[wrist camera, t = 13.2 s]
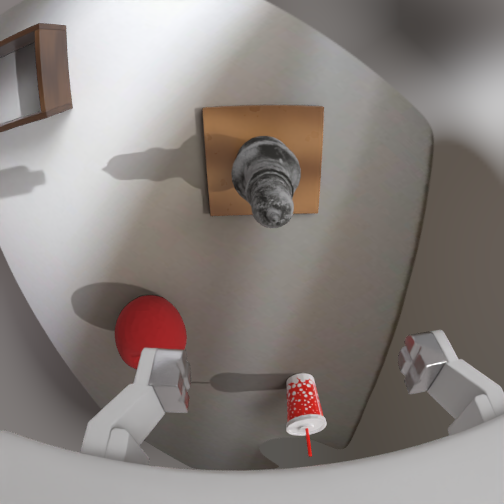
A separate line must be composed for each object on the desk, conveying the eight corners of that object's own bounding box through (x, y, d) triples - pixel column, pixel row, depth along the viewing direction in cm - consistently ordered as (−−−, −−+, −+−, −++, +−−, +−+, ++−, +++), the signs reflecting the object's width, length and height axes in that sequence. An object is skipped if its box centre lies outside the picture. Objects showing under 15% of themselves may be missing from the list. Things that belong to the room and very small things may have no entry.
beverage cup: (274, 381, 49) (280, 458, 38) (305, 365, 47) (318, 445, 36) (295, 394, 52) (303, 465, 40) (324, 380, 50) (338, 453, 38)
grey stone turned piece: (249, 200, 32) (252, 273, 22) (221, 149, 29) (208, 200, 19) (304, 176, 30) (334, 240, 20) (279, 122, 27) (301, 158, 17)
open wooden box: (-25, 66, 21) (-53, 73, 16) (66, 25, 21) (39, 22, 17) (-16, 135, 26) (-42, 148, 21) (72, 108, 26) (47, 117, 22)
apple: (117, 281, 37) (91, 340, 29) (187, 284, 38) (174, 348, 30) (131, 331, 42) (114, 388, 34) (193, 336, 43) (184, 396, 35)
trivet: (203, 107, 27) (202, 108, 26) (322, 106, 27) (324, 106, 27) (211, 213, 33) (210, 216, 32) (316, 210, 33) (318, 213, 33)
